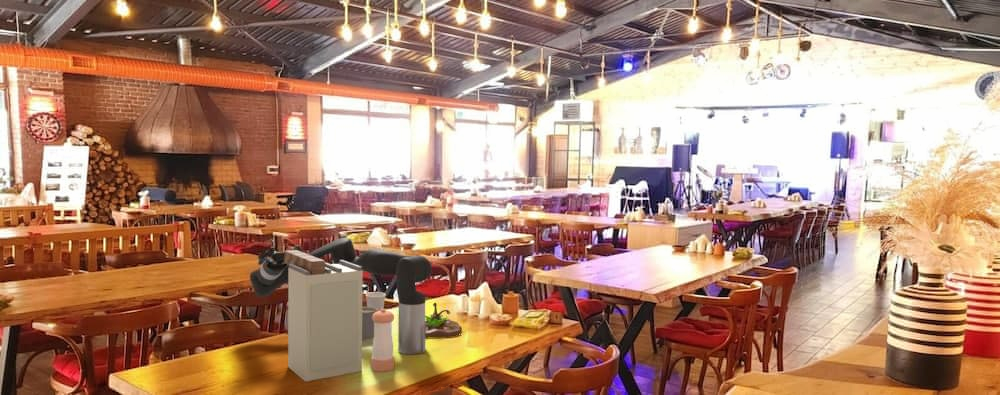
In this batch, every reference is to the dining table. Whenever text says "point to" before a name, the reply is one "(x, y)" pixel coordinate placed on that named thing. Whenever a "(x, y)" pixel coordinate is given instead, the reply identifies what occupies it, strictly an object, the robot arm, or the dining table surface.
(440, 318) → the plant
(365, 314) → the coffee mug
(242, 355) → the dining table surface
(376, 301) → the dixie cup
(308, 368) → the cabinet
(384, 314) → the pepper shaker
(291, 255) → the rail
